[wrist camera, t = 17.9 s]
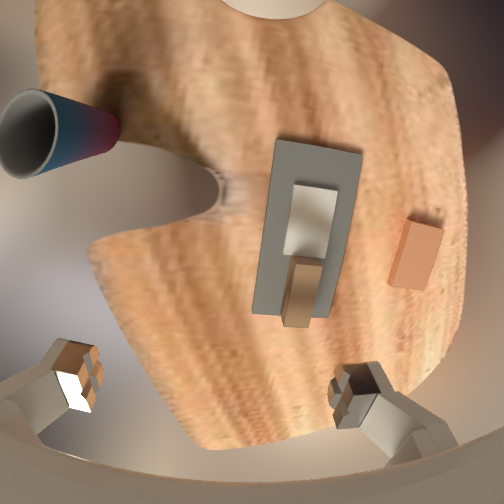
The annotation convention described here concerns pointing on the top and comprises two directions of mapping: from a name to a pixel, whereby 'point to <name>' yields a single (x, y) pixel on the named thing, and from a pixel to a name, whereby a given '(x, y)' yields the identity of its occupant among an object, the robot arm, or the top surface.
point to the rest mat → (277, 211)
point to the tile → (415, 255)
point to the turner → (305, 250)
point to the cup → (51, 133)
